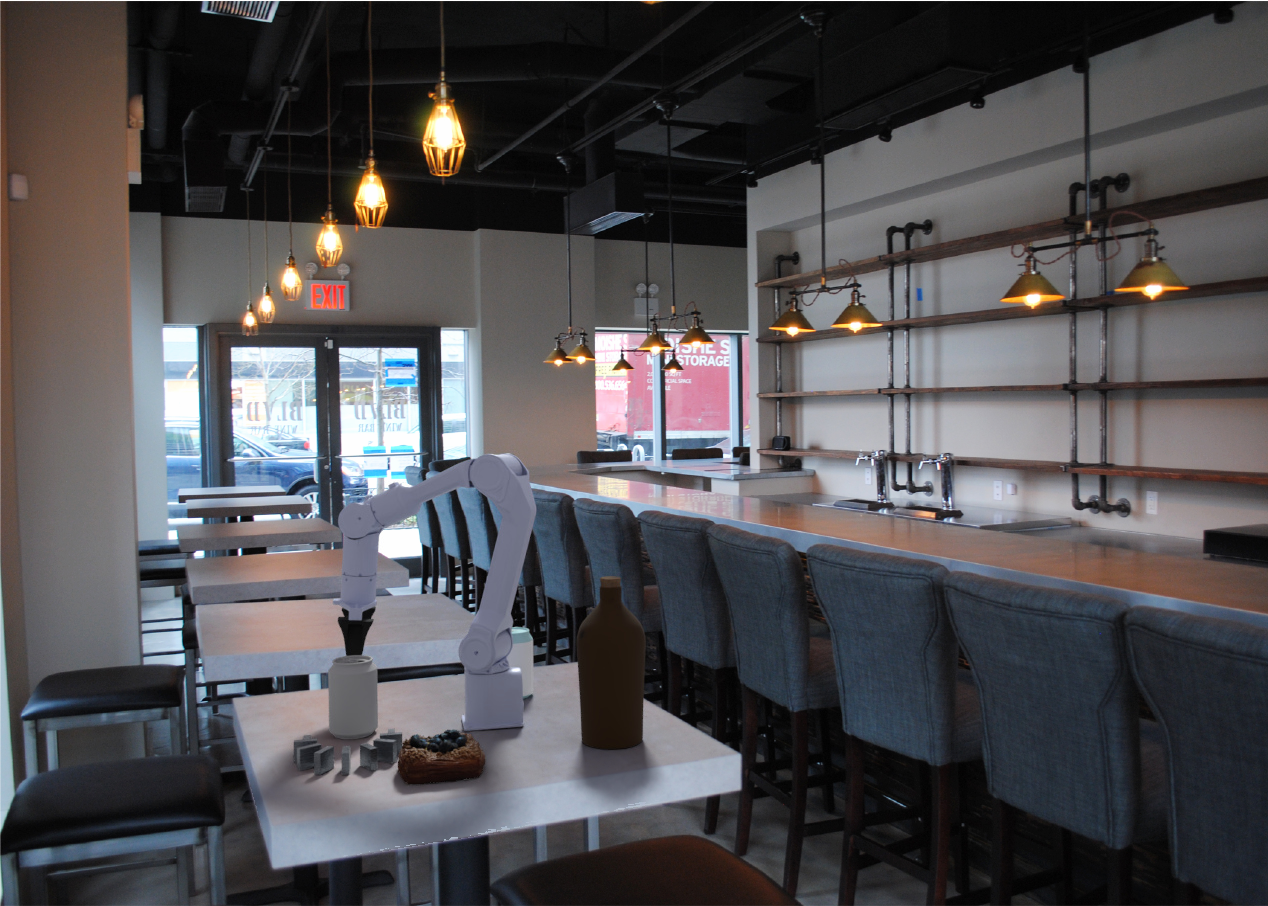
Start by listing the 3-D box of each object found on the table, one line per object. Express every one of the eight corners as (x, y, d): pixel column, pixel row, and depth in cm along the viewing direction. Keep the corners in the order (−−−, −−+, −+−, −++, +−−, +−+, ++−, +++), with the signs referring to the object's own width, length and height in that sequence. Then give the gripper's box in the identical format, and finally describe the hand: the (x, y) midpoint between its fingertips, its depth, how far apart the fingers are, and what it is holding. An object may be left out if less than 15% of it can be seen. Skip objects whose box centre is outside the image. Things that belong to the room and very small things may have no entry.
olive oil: (625, 755, 140) (623, 584, 139) (564, 745, 145) (562, 580, 145) (658, 735, 149) (657, 575, 149) (600, 726, 154) (598, 571, 154)
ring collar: (402, 747, 144) (402, 727, 144) (401, 770, 134) (401, 748, 134) (296, 756, 141) (296, 735, 141) (287, 779, 131) (287, 757, 131)
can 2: (499, 703, 169) (498, 635, 169) (490, 693, 175) (489, 628, 175) (538, 698, 171) (537, 631, 171) (527, 689, 178) (527, 625, 178)
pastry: (395, 764, 138) (395, 723, 138) (479, 755, 141) (479, 716, 141) (399, 790, 127) (398, 746, 127) (490, 780, 131) (489, 737, 131)
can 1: (364, 742, 147) (363, 664, 147) (319, 739, 149) (318, 662, 149) (386, 728, 155) (385, 653, 155) (343, 725, 156) (342, 652, 156)
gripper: (337, 566, 167) (333, 644, 167) (331, 580, 153) (326, 665, 153) (379, 567, 168) (375, 644, 169) (376, 581, 154) (372, 665, 155)
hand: (355, 654), depth 161 cm, fingers open, 7 cm apart
